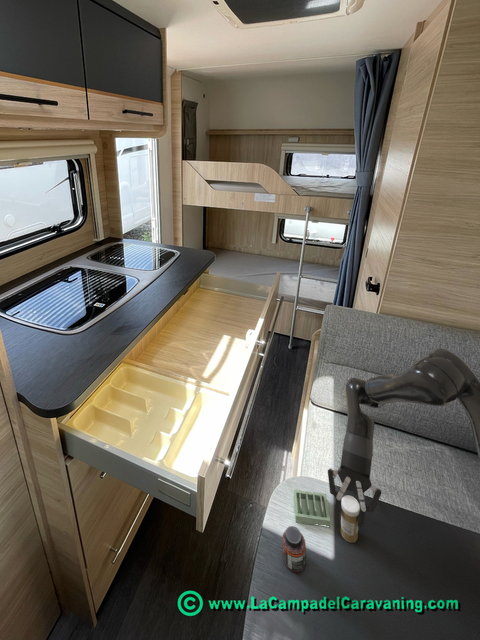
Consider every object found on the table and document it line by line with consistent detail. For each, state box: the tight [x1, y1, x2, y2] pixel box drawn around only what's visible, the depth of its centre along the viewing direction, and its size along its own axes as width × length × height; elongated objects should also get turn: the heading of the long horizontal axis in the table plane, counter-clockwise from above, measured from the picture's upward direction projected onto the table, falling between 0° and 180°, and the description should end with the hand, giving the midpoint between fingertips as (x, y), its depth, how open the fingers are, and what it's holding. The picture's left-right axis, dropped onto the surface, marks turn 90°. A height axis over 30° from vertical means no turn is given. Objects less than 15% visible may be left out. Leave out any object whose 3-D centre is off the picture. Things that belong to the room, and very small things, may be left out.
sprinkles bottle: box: [340, 494, 361, 544], centre depth 90 cm, size 5×5×14 cm
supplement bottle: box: [281, 525, 307, 573], centre depth 86 cm, size 6×6×11 cm
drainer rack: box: [299, 489, 324, 517], centre depth 98 cm, size 6×5×4 cm
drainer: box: [293, 489, 331, 528], centre depth 98 cm, size 10×8×3 cm
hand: (349, 520), depth 87 cm, fingers closed on sprinkles bottle, 4 cm apart
